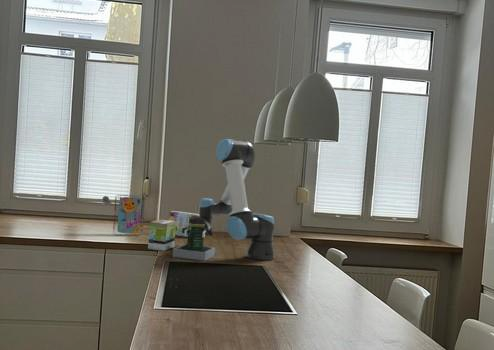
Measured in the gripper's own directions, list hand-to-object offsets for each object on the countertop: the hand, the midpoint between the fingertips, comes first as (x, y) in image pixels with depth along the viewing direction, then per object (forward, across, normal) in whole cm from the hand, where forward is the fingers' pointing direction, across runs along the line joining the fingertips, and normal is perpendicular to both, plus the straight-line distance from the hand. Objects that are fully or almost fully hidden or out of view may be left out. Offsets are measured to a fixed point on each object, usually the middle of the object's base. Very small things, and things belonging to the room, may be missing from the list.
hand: (194, 233), depth 261 cm
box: (-47, +53, -13) cm, 72 cm away
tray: (-5, 0, -12) cm, 13 cm away
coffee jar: (-5, 0, -10) cm, 11 cm away
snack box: (-67, +18, -13) cm, 70 cm away
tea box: (-18, +21, -12) cm, 31 cm away
